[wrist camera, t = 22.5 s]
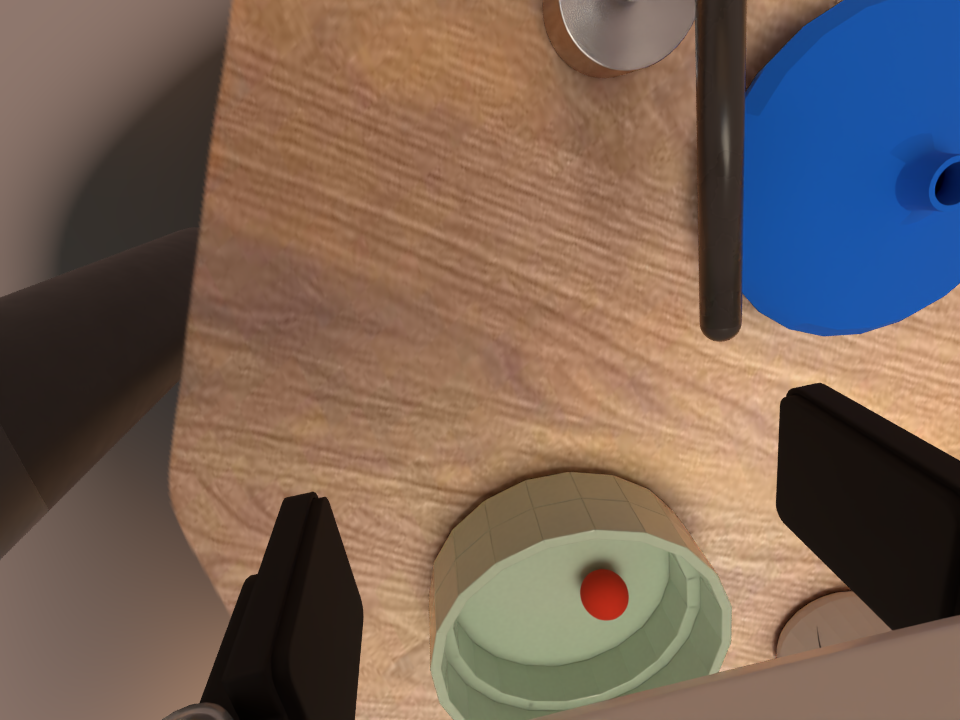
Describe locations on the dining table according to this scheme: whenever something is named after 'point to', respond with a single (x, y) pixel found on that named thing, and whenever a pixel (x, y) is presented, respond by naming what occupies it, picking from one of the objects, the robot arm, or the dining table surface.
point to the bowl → (569, 600)
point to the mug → (829, 624)
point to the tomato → (604, 594)
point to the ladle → (719, 105)
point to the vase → (855, 168)
